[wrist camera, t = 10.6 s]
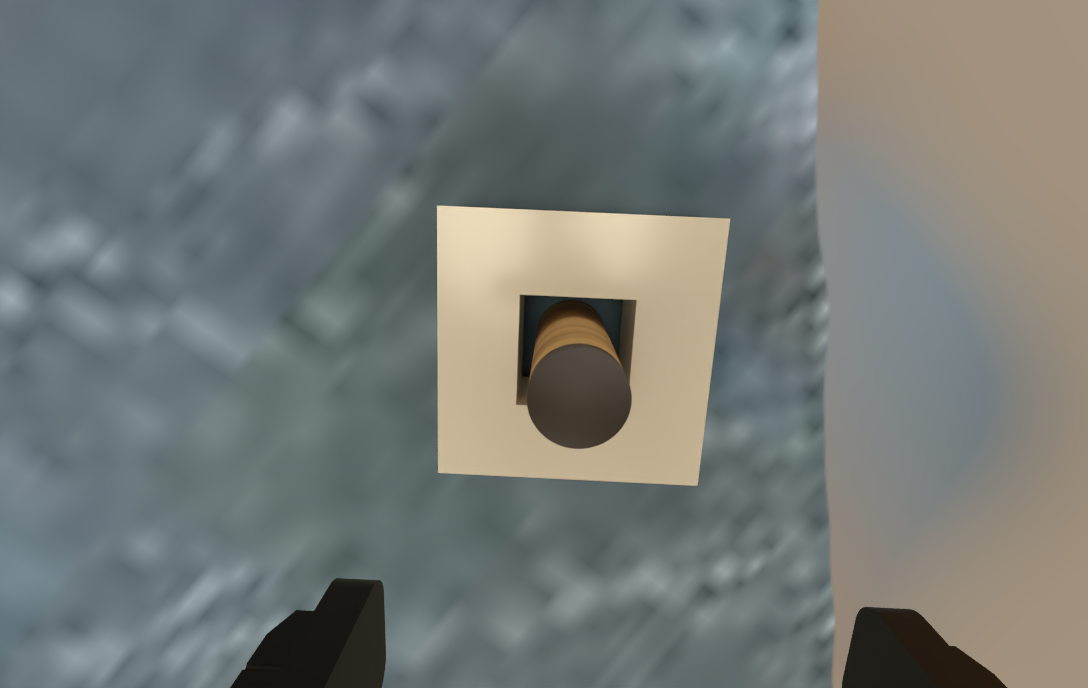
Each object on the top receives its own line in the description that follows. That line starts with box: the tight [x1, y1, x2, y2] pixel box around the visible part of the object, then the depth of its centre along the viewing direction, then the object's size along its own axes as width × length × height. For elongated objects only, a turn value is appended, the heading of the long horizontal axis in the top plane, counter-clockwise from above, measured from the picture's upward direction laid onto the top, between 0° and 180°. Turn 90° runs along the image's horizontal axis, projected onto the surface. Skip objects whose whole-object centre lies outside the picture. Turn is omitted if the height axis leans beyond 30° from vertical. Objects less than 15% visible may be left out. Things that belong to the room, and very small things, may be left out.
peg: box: [527, 300, 632, 449], centre depth 26 cm, size 4×4×12 cm
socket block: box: [437, 206, 730, 486], centre depth 30 cm, size 14×14×5 cm
